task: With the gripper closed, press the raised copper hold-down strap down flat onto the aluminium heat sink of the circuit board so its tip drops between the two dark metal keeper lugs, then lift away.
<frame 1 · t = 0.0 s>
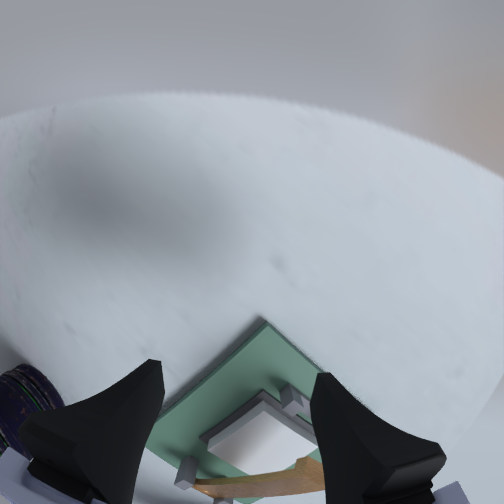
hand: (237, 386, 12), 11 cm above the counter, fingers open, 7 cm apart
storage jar: (40, 397, 23), on the counter
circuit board: (254, 435, 23), on the counter
hold-down strap: (248, 484, 16), point 6 cm above the counter, hinge at 25.0°
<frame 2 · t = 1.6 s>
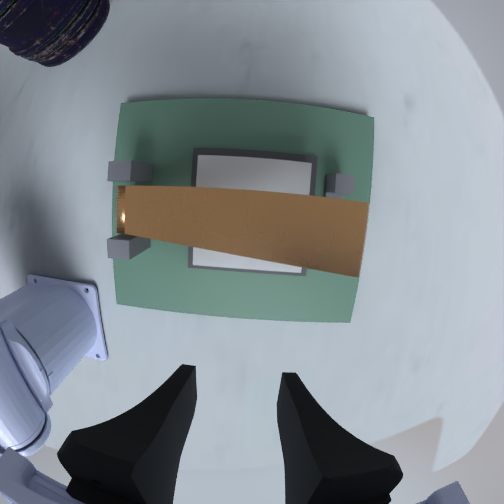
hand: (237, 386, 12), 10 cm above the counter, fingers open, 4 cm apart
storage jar: (71, 28, 16), on the counter
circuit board: (237, 209, 20), on the counter
hold-down strap: (213, 217, 14), point 6 cm above the counter, hinge at 25.0°
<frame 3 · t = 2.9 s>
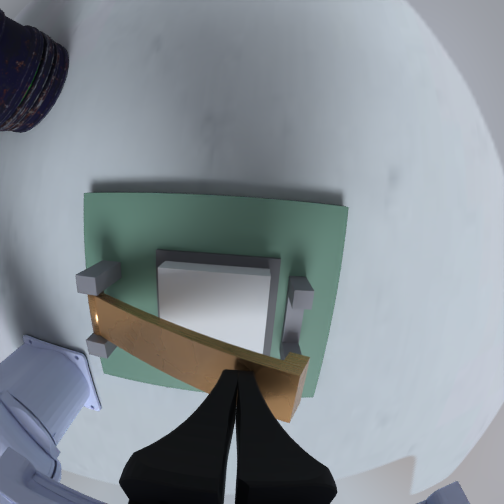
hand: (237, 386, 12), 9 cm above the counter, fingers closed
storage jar: (34, 86, 16), on the counter
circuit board: (204, 302, 21), on the counter
hold-down strap: (171, 346, 14), point 6 cm above the counter, hinge at 25.0°, touching gripper
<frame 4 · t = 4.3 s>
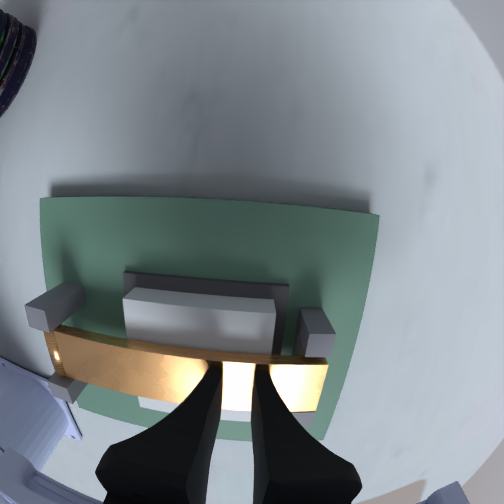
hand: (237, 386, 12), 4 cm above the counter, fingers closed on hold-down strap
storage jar: (1, 76, 11), on the counter
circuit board: (189, 337, 16), on the counter
hold-down strap: (168, 371, 12), point 4 cm above the counter, hinge at -0.4°, touching gripper
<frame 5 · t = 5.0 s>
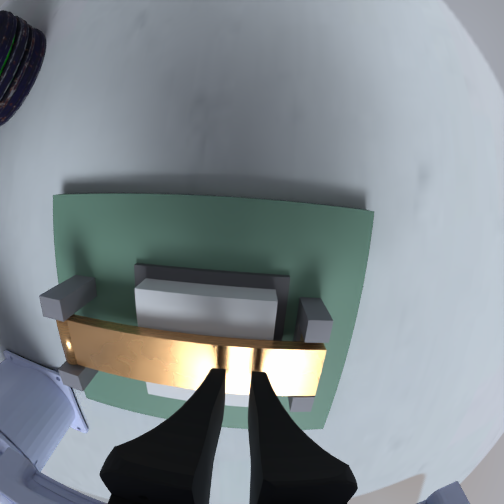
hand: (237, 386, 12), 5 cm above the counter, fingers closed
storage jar: (10, 77, 13), on the counter
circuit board: (195, 326, 17), on the counter
hold-down strap: (177, 357, 13), point 4 cm above the counter, hinge at -0.5°
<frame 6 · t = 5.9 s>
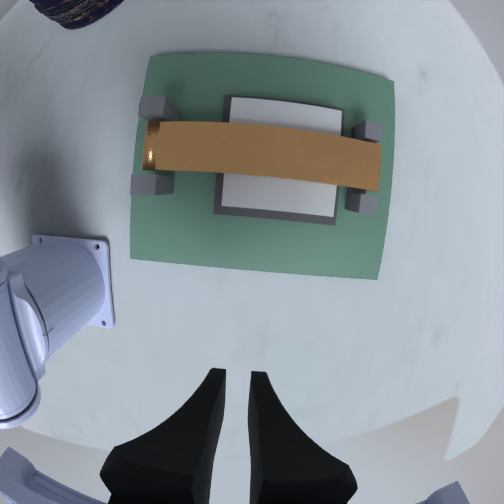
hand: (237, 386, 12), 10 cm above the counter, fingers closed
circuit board: (265, 158, 19), on the counter
hold-down strap: (262, 151, 16), point 4 cm above the counter, hinge at -0.5°
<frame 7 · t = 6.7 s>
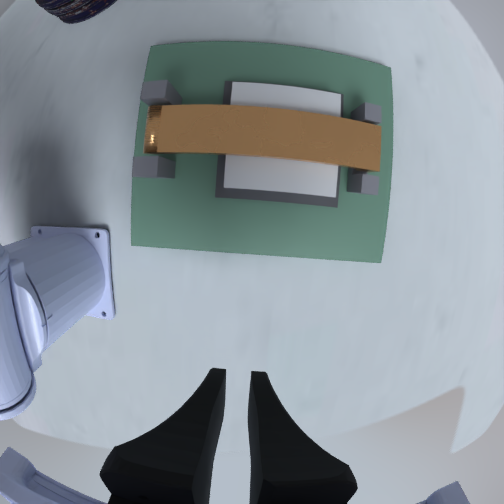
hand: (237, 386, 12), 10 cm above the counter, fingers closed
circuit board: (266, 143, 19), on the counter
hold-down strap: (264, 133, 16), point 4 cm above the counter, hinge at -0.5°
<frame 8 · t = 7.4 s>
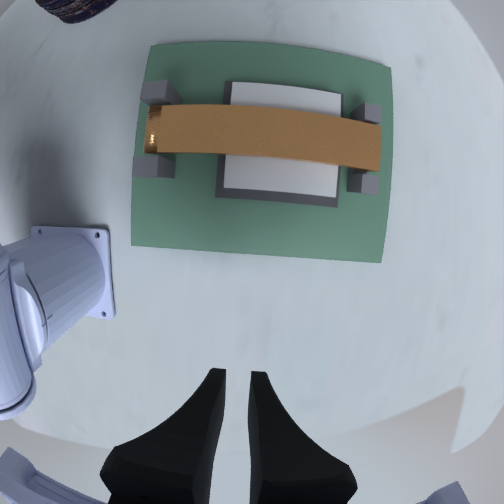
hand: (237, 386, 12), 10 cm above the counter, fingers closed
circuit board: (266, 143, 19), on the counter
hold-down strap: (264, 133, 16), point 4 cm above the counter, hinge at -0.5°
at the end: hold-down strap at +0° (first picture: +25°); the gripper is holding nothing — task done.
